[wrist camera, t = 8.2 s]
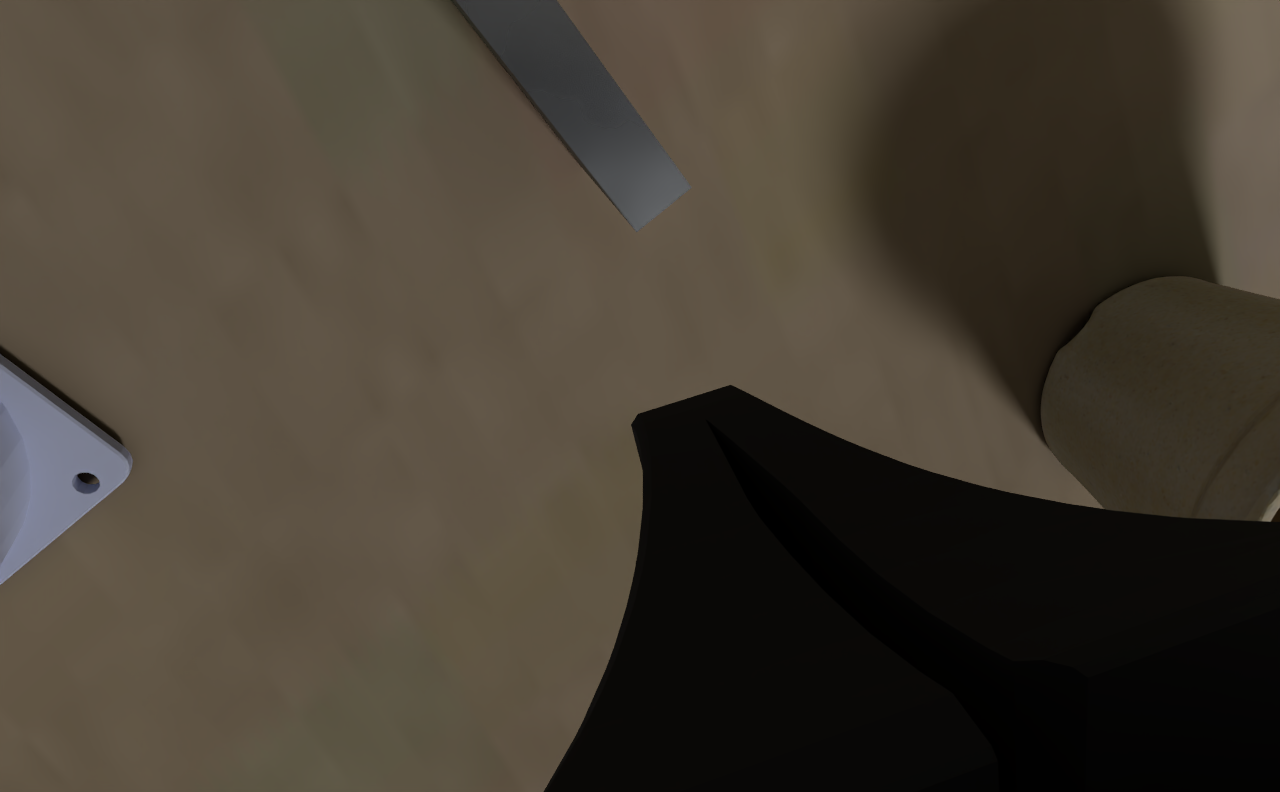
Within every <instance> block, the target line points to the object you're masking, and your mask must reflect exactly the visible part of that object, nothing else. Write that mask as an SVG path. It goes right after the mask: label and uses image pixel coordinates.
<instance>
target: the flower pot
mask: <svg viewBox="0 0 1280 792" xmlns="http://www.w3.org/2000/svg"><path fill="white" fill-rule="evenodd" d="M1041 422H1042V429H1043V433H1044V437H1045V440H1046V442H1047V444H1048V446H1049V448H1050V450H1051V451H1052V453H1053V454H1054V455H1055V457H1056V458H1057V459H1058V460H1059V462H1060V463H1061V464H1062V465H1063V466H1064V467H1065V468H1066V469H1067V470H1068V471H1069V472H1070V473H1071V474H1072V475H1073V476H1074V477H1075V478H1076V479H1077V480H1078V481H1079V482H1080V483H1081V484H1082V485H1083V486H1084V487H1085V488H1086V489H1087V490H1088V491H1089V492H1090V494H1091V495H1092V496H1093V497H1094V498H1095V499H1096V500H1097V501H1098V502H1099V503H1100V504H1101V505H1102V507H1103V508H1104V509H1107V510H1114V511H1124V512H1133V513H1142V514H1152V515H1161V516H1170V517H1182V518H1199V519H1223V520H1246V521H1269V522H1280V299H1276V298H1272V297H1267V296H1263V295H1259V294H1255V293H1251V292H1247V291H1243V290H1239V289H1235V288H1231V287H1227V286H1223V285H1219V284H1214V283H1210V282H1207V281H1204V280H1201V279H1197V278H1193V277H1185V276H1167V277H1159V278H1153V279H1150V280H1146V281H1143V282H1140V283H1137V284H1135V285H1132V286H1130V287H1128V288H1125V289H1123V290H1121V291H1119V292H1118V293H1116V294H1114V295H1113V296H1111V297H1109V298H1108V299H1106V300H1105V301H1103V302H1102V303H1100V304H1099V305H1098V306H1097V307H1096V308H1095V309H1094V311H1093V313H1092V315H1091V317H1090V319H1089V321H1088V322H1087V323H1086V325H1085V326H1084V328H1083V329H1082V330H1081V331H1080V332H1079V333H1078V334H1077V335H1076V336H1075V337H1074V338H1073V339H1072V340H1071V341H1070V342H1069V343H1068V344H1066V345H1065V346H1064V347H1062V348H1061V349H1060V350H1059V351H1058V352H1057V354H1056V356H1055V358H1054V360H1053V362H1052V364H1051V366H1050V369H1049V372H1048V375H1047V378H1046V381H1045V384H1044V388H1043V393H1042V399H1041Z"/></svg>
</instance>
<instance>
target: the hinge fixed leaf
mask: <svg viewBox="0 0 1280 792" xmlns="http://www.w3.org/2000/svg"><path fill="white" fill-rule="evenodd" d="M451 1H452V2H453V4H454V5H455V6H456V7H457V9H458V10H459V11H460V12H461V14H462V15H463V16H464V18H465V19H466V20H467V21H468V23H469V24H470V25H471V27H472V28H473V29H474V30H475V32H476V33H477V34H478V35H479V37H480V38H481V39H482V41H483V42H484V43H485V44H486V46H487V47H488V48H489V49H490V51H491V52H492V53H493V55H494V56H495V57H496V58H497V60H498V61H499V62H500V64H501V65H502V66H503V67H504V69H505V70H506V71H507V72H508V74H509V75H510V76H511V78H512V79H513V80H514V81H515V83H516V84H517V85H518V86H519V88H520V89H521V90H522V92H523V93H524V94H525V95H526V97H527V98H528V99H529V101H530V102H531V103H532V104H533V106H534V107H535V108H536V109H537V111H538V112H539V113H540V115H541V116H542V117H543V118H544V120H545V121H546V122H547V123H548V125H549V126H550V127H551V129H552V130H553V131H554V132H555V134H556V135H557V136H558V137H559V139H560V140H561V141H562V143H563V144H564V145H565V146H566V148H567V149H568V150H569V152H570V153H571V154H572V155H573V157H574V158H575V159H576V160H577V162H578V163H579V164H580V166H581V167H582V168H583V169H584V171H585V172H586V173H587V174H588V175H589V176H590V178H591V179H592V180H593V181H594V182H595V184H596V185H597V186H598V187H599V188H600V189H601V191H602V192H603V193H604V194H605V195H606V196H607V198H608V199H609V200H610V201H611V202H612V204H613V205H614V206H615V207H616V208H617V209H618V211H619V212H620V213H621V214H622V215H623V217H624V218H625V219H626V220H627V221H628V222H629V224H630V225H631V226H632V227H633V228H634V230H635V231H636V232H637V231H639V230H640V229H641V228H642V227H644V226H645V225H646V224H647V223H648V222H650V221H651V220H652V219H653V218H655V217H656V216H657V215H658V214H660V213H661V212H662V211H663V210H664V209H666V208H667V207H668V206H669V205H671V204H672V203H673V202H674V201H676V200H677V199H678V198H679V197H680V196H682V195H683V194H684V193H685V192H687V191H688V190H689V189H690V188H691V186H690V185H689V183H688V182H687V181H686V179H685V178H684V176H683V175H682V174H681V172H680V171H679V170H678V168H677V167H676V165H675V164H674V163H673V161H672V160H671V158H670V157H669V156H668V154H667V153H666V151H665V150H664V149H663V147H662V146H661V145H660V143H659V142H658V140H657V139H656V138H655V136H654V135H653V133H652V132H651V131H650V129H649V128H648V127H647V125H646V124H645V122H644V121H643V120H642V118H641V117H640V115H639V114H638V113H637V111H636V110H635V108H634V107H633V106H632V104H631V103H630V102H629V100H628V99H627V97H626V96H625V95H624V93H623V92H622V90H621V89H620V88H619V86H618V85H617V84H616V82H615V81H614V79H613V78H612V77H611V75H610V74H609V72H608V71H607V70H606V68H605V67H604V65H603V64H602V63H601V61H600V60H599V59H598V57H597V56H596V54H595V53H594V52H593V50H592V49H591V47H590V46H589V45H588V43H587V42H586V41H585V39H584V38H583V36H582V35H581V34H580V32H579V31H578V29H577V28H576V27H575V25H574V24H573V22H572V21H571V20H570V18H569V17H568V16H567V14H566V13H565V11H564V10H563V9H562V7H561V6H560V4H559V3H558V2H557V0H451Z"/></svg>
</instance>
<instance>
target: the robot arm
mask: <svg viewBox="0 0 1280 792" xmlns="http://www.w3.org/2000/svg"><path fill="white" fill-rule="evenodd" d="M631 426H632V430H633V434H634V438H635V442H636V446H637V449H638V453H639V457H640V461H641V465H642V469H643V511H642V521H641V530H640V539H639V548H638V555H637V561H636V566H635V572H634V577H633V582H632V586H631V590H630V594H629V599H628V603H627V607H626V610H625V613H624V617H623V620H622V623H621V627H620V630H619V633H618V636H617V640H616V643H615V646H614V649H613V651H612V654H611V657H610V660H609V663H608V665H607V668H606V670H605V672H604V675H603V677H602V679H601V682H600V684H599V686H598V688H597V691H596V693H595V695H594V698H593V700H592V702H591V704H590V707H589V709H588V711H587V713H586V716H585V718H584V720H583V722H582V724H581V726H580V728H579V730H578V732H577V734H576V736H575V738H574V740H573V742H572V743H571V745H570V747H569V749H568V750H567V752H566V754H565V756H564V757H563V759H562V761H561V762H560V764H559V766H558V768H557V769H556V771H555V773H554V775H553V776H552V778H551V780H550V782H549V783H548V785H547V787H546V789H545V790H544V792H1280V522H1269V521H1246V520H1223V519H1199V518H1182V517H1170V516H1161V515H1152V514H1142V513H1133V512H1124V511H1114V510H1107V509H1100V508H1093V507H1086V506H1079V505H1072V504H1066V503H1061V502H1056V501H1050V500H1045V499H1040V498H1035V497H1030V496H1024V495H1019V494H1014V493H1009V492H1005V491H1001V490H996V489H992V488H988V487H983V486H979V485H976V484H972V483H969V482H965V481H962V480H958V479H954V478H951V477H947V476H944V475H940V474H937V473H933V472H930V471H927V470H924V469H921V468H917V467H914V466H911V465H908V464H906V463H903V462H900V461H897V460H895V459H892V458H889V457H887V456H884V455H882V454H879V453H876V452H874V451H871V450H868V449H866V448H863V447H861V446H858V445H856V444H854V443H851V442H849V441H846V440H844V439H842V438H839V437H837V436H835V435H833V434H830V433H828V432H826V431H824V430H822V429H819V428H817V427H815V426H813V425H811V424H809V423H806V422H804V421H802V420H800V419H798V418H796V417H794V416H792V415H790V414H788V413H786V412H784V411H782V410H780V409H778V408H776V407H774V406H772V405H770V404H768V403H766V402H764V401H762V400H760V399H758V398H756V397H754V396H752V395H750V394H748V393H746V392H744V391H742V390H740V389H738V388H736V387H734V386H732V385H729V386H726V387H722V388H719V389H716V390H713V391H710V392H707V393H703V394H700V395H697V396H694V397H691V398H687V399H684V400H681V401H678V402H675V403H672V404H668V405H665V406H662V407H659V408H656V409H652V410H649V411H646V412H643V413H640V414H638V415H637V416H636V418H635V420H634V421H633V423H632V424H631ZM132 463H133V460H132V457H131V454H130V452H129V451H128V450H127V449H126V448H125V447H124V446H123V445H121V444H120V443H119V442H117V441H116V440H115V439H113V438H112V437H111V436H109V435H108V434H107V433H105V432H104V431H103V430H101V429H100V428H99V427H97V426H96V425H95V424H93V423H92V422H91V421H89V420H88V419H87V418H85V417H84V416H83V415H81V414H80V413H79V412H77V411H76V410H75V409H73V408H72V407H71V406H69V405H68V404H67V403H65V402H64V401H63V400H61V399H60V398H59V397H57V396H56V395H55V394H53V393H52V392H51V391H49V390H48V389H47V388H45V387H44V386H43V385H41V384H40V383H38V382H37V381H36V380H34V379H33V378H32V377H30V376H29V375H28V374H26V373H25V372H24V371H22V370H21V369H20V368H18V367H17V366H16V365H14V364H13V363H12V362H10V361H9V360H8V359H6V358H5V357H4V356H2V355H1V354H0V585H1V584H2V583H3V582H4V581H6V580H7V579H8V578H9V577H10V576H12V575H13V574H14V573H15V572H16V571H17V570H19V569H20V568H21V567H22V566H23V565H25V564H26V563H27V562H28V561H29V560H31V559H32V558H33V557H34V556H35V555H37V554H38V553H39V552H40V551H41V550H43V549H44V548H45V547H46V546H47V545H49V544H50V543H51V542H52V541H53V540H55V539H56V538H57V537H58V536H59V535H61V534H62V533H63V532H64V531H65V530H67V529H68V528H69V527H70V526H71V525H73V524H74V523H75V522H76V521H77V520H79V519H80V518H81V517H82V516H83V515H85V514H86V513H87V512H88V511H89V510H91V509H92V508H93V507H94V506H95V505H97V504H98V503H99V502H100V501H101V500H103V499H104V498H105V497H106V496H107V495H109V494H110V493H111V492H112V491H113V490H115V489H116V488H117V487H118V486H119V485H120V484H122V483H123V482H124V481H125V479H126V478H127V477H128V475H129V473H130V471H131V469H132ZM79 473H91V474H93V475H95V476H96V477H97V478H98V479H99V483H97V484H87V483H84V482H82V481H81V480H80V479H79V478H78V476H77V474H79Z"/></svg>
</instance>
